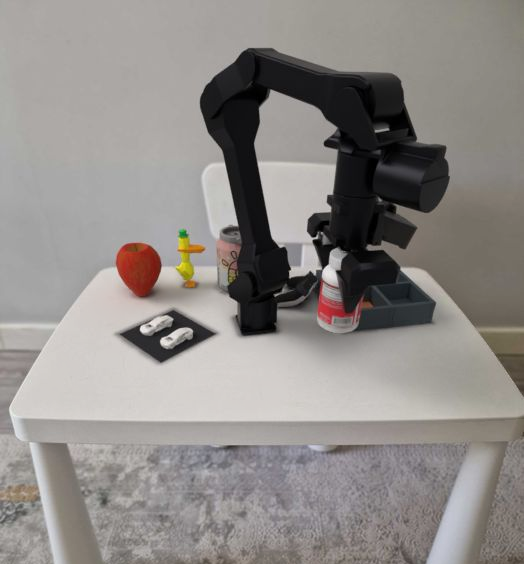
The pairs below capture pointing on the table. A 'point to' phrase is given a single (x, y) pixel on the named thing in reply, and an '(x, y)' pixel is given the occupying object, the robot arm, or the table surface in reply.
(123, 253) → the apple
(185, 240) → the toy figure
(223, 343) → the table surface
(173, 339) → the black mat with cars
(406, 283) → the tray
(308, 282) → the gaming controller
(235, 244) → the beverage can
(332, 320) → the pill bottle
